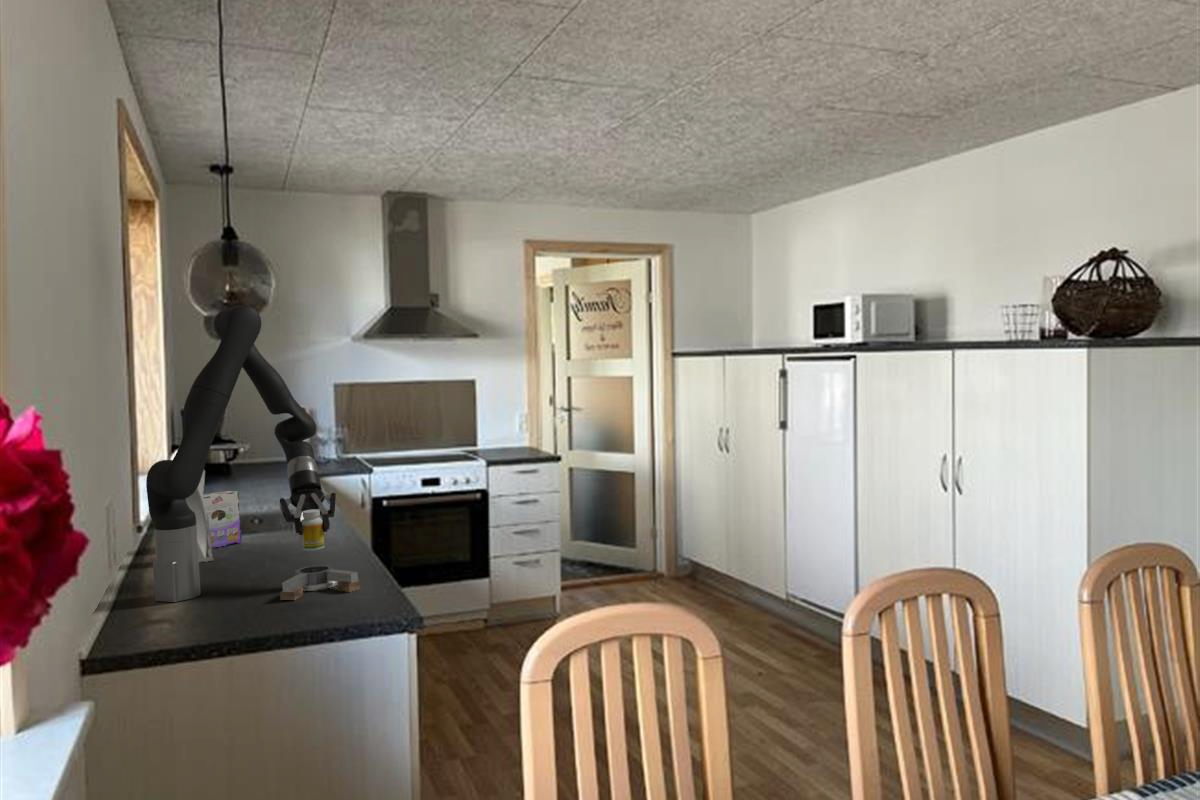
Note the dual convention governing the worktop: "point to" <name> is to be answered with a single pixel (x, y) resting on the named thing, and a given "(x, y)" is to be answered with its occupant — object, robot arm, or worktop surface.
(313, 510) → the supplement bottle
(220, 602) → the worktop surface
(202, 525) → the skyscraper
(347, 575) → the angled shafts
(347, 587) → the blocks
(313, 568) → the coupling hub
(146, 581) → the worktop surface
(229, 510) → the candy box
